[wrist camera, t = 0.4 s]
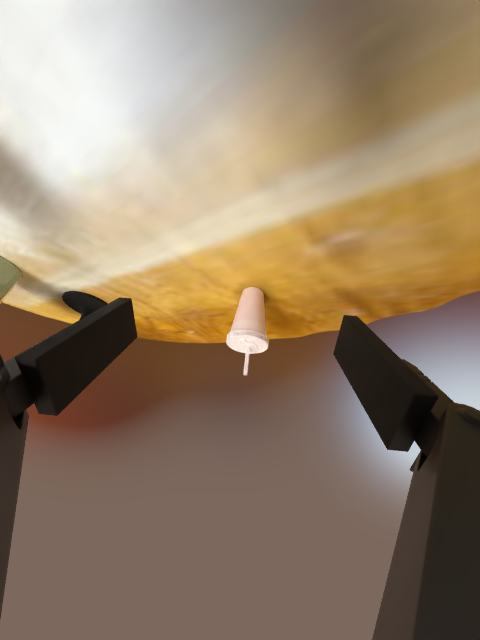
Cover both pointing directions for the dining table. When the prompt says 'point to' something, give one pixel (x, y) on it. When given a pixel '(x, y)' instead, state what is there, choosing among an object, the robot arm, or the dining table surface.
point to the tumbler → (8, 277)
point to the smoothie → (249, 325)
